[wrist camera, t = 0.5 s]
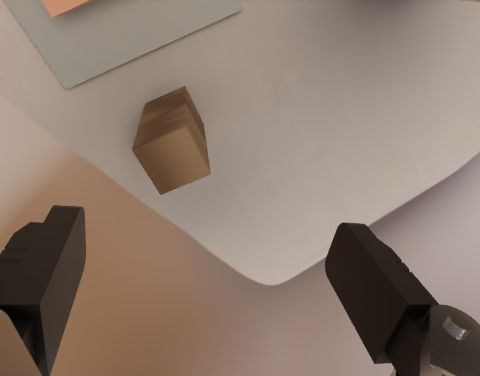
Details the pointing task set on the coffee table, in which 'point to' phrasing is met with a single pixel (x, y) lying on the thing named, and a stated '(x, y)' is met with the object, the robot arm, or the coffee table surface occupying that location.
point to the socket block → (109, 30)
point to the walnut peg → (172, 141)
